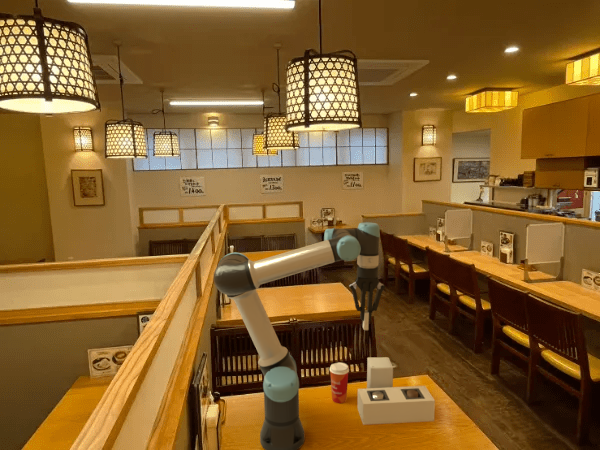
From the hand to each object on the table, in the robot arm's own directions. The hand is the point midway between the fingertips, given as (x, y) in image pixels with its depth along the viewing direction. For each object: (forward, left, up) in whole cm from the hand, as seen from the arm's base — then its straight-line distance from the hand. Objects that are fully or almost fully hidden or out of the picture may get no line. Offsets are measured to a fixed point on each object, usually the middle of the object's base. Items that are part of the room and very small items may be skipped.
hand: (365, 328), depth 151 cm
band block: (+11, -3, -33) cm, 35 cm away
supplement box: (+8, +9, -33) cm, 35 cm away
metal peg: (+4, -3, -32) cm, 33 cm away
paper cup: (-8, +9, -33) cm, 35 cm away
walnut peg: (+17, -3, -32) cm, 37 cm away
